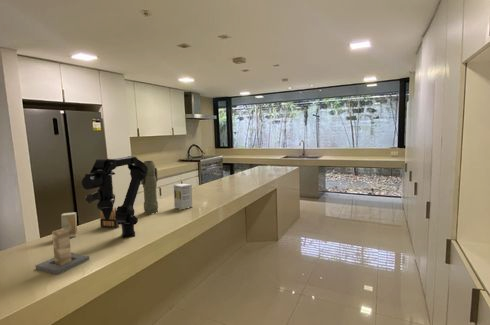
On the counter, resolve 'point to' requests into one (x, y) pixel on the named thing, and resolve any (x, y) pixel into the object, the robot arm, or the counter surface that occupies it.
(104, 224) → the ammunition clip
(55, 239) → the maple peg
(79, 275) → the counter surface
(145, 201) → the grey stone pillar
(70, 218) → the skincare box
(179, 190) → the supplement box
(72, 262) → the socket board
